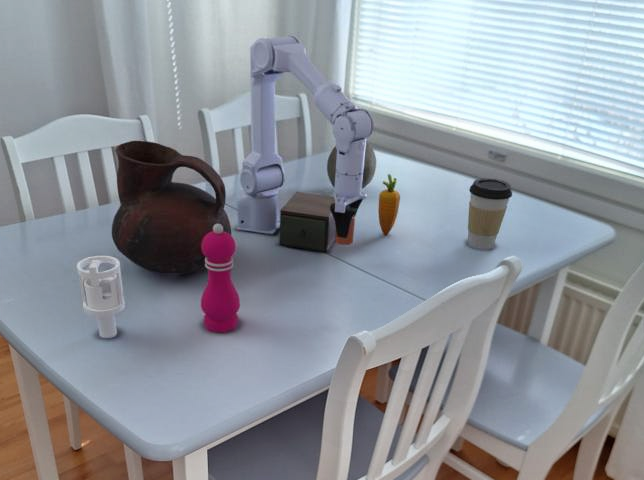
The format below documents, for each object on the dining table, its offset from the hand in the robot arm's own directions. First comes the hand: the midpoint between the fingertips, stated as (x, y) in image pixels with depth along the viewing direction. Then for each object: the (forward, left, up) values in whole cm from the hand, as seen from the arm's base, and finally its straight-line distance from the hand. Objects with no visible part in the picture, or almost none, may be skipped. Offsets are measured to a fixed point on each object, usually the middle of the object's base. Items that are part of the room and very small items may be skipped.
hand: (344, 232), depth 146 cm
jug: (-35, -13, -8) cm, 38 cm away
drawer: (-11, +10, -7) cm, 16 cm away
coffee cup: (+29, +23, -8) cm, 38 cm away
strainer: (-34, -44, -8) cm, 56 cm away
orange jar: (0, 0, -2) cm, 2 cm away
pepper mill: (-16, -34, -8) cm, 38 cm away
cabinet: (-11, +12, -8) cm, 18 cm away
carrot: (+6, +20, -8) cm, 22 cm away
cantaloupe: (-9, +47, -8) cm, 48 cm away
